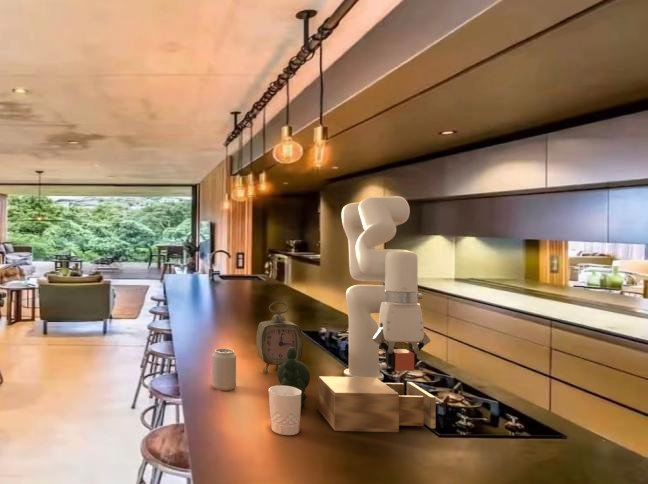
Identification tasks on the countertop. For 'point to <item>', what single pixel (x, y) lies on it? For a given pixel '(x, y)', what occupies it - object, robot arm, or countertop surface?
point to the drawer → (416, 405)
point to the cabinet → (358, 404)
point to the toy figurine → (294, 374)
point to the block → (404, 360)
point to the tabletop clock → (278, 339)
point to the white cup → (285, 409)
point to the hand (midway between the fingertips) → (401, 366)
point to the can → (224, 369)
